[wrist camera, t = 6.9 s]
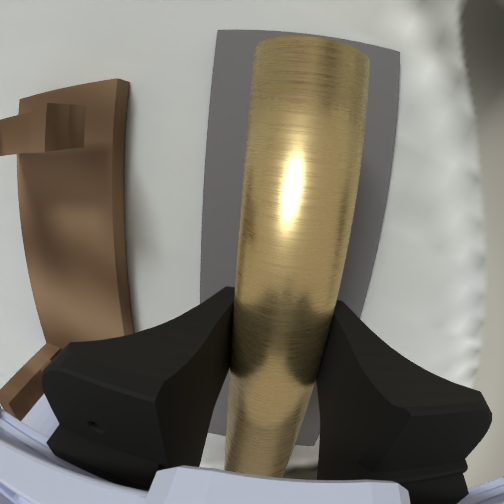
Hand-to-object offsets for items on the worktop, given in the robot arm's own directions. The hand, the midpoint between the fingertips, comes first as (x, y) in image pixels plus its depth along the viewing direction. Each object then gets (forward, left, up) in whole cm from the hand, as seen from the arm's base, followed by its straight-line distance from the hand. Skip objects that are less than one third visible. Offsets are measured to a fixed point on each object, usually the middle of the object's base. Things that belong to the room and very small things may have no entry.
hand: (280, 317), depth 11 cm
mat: (0, 0, -2) cm, 2 cm away
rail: (0, 0, +2) cm, 2 cm away
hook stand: (0, +11, -2) cm, 11 cm away
